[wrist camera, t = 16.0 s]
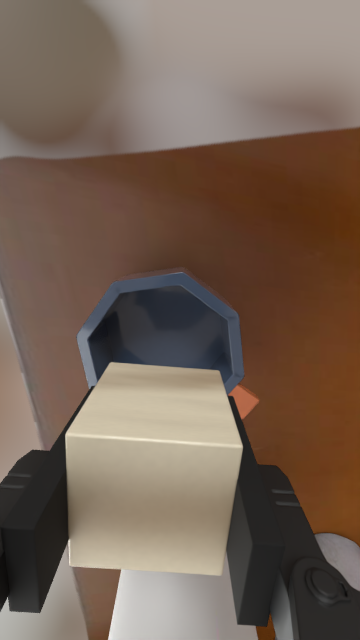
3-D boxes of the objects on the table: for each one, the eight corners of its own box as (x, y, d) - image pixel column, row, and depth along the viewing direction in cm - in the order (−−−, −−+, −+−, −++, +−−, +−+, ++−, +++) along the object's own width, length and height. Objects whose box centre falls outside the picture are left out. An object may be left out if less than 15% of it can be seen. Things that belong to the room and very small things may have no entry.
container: (167, 532, 32) (145, 956, 13) (120, 472, 30) (11, 872, 11) (243, 499, 31) (343, 916, 12) (200, 433, 29) (235, 812, 10)
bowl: (78, 345, 24) (51, 371, 19) (150, 241, 22) (141, 239, 17) (196, 424, 26) (200, 466, 21) (274, 336, 24) (299, 360, 19)
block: (109, 361, 12) (63, 434, 8) (219, 369, 12) (244, 446, 8) (108, 454, 14) (68, 567, 9) (208, 461, 14) (222, 577, 9)
